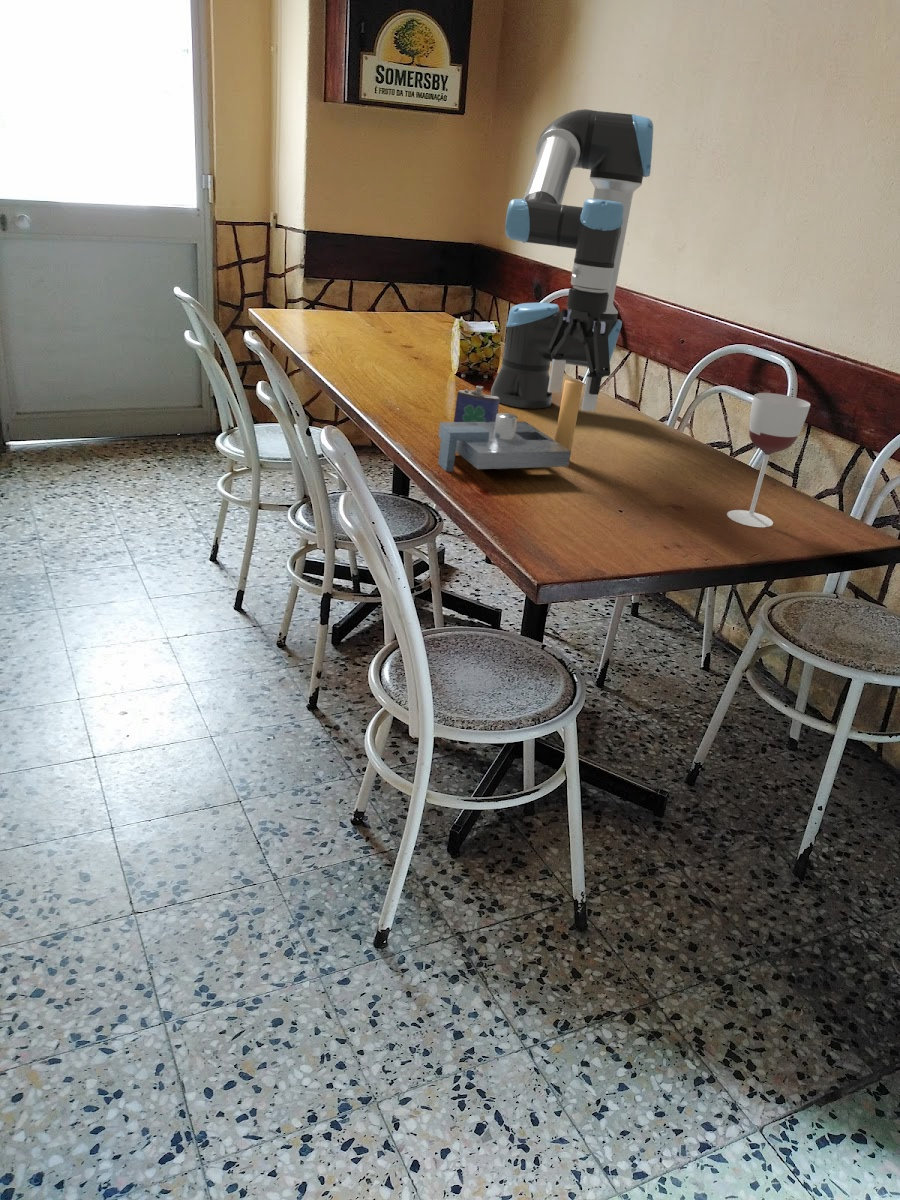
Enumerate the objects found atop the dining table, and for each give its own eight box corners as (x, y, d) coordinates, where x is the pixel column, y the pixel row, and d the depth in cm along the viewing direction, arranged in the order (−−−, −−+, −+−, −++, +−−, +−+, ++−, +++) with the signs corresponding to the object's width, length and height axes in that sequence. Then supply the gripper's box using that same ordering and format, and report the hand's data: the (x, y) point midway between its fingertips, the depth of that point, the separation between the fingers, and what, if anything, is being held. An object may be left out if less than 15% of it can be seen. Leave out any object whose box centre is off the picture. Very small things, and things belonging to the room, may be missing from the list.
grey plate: (521, 449, 192) (528, 402, 187) (565, 481, 176) (574, 430, 172) (423, 451, 183) (428, 402, 179) (461, 485, 168) (468, 431, 163)
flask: (495, 437, 198) (502, 388, 193) (492, 441, 195) (499, 391, 190) (454, 430, 199) (459, 380, 195) (450, 433, 197) (456, 383, 192)
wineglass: (716, 507, 172) (746, 391, 163) (765, 511, 174) (797, 395, 164) (733, 525, 165) (765, 404, 155) (784, 529, 166) (819, 409, 156)
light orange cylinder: (563, 457, 190) (577, 379, 183) (572, 462, 187) (586, 384, 180) (548, 457, 189) (561, 379, 182) (557, 463, 186) (570, 384, 179)
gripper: (541, 277, 182) (525, 384, 191) (607, 299, 162) (586, 418, 171) (573, 279, 185) (556, 385, 194) (643, 301, 165) (620, 418, 174)
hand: (570, 401), depth 182 cm, fingers open, 13 cm apart
